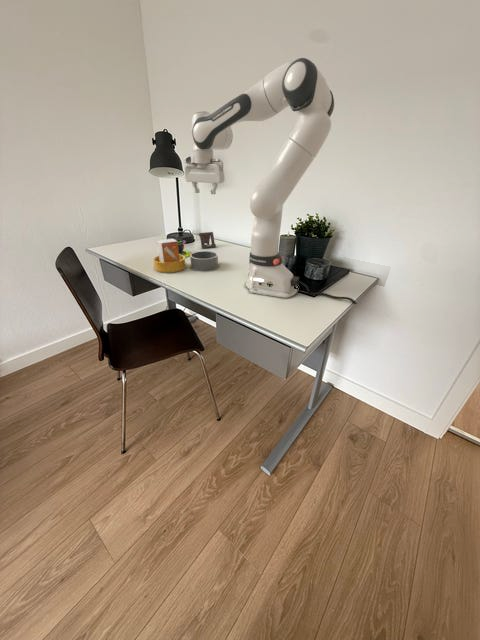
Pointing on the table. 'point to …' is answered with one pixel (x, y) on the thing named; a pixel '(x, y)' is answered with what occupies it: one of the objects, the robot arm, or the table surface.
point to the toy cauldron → (181, 247)
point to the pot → (204, 260)
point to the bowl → (169, 265)
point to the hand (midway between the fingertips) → (205, 193)
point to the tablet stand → (207, 239)
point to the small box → (168, 250)
